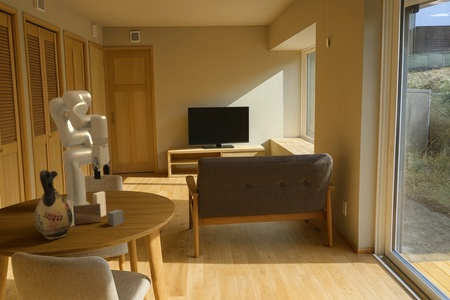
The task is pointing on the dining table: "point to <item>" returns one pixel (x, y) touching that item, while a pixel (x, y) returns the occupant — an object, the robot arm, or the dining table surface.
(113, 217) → the block
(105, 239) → the dining table surface
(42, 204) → the ceramic jug
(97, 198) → the wall
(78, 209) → the door
